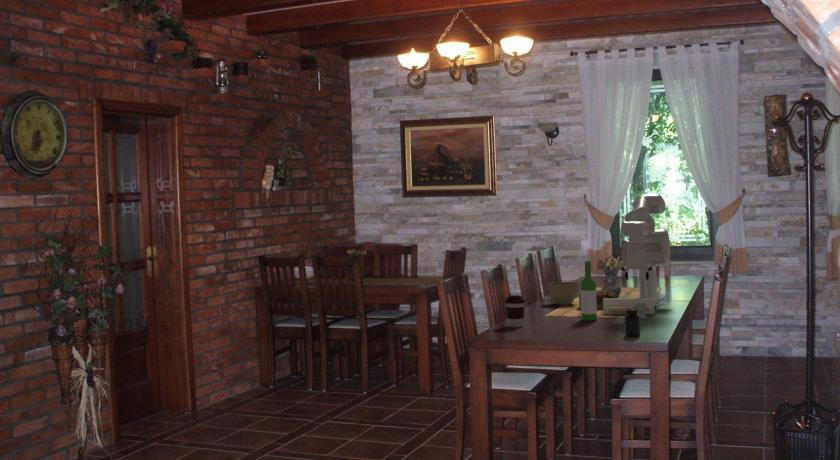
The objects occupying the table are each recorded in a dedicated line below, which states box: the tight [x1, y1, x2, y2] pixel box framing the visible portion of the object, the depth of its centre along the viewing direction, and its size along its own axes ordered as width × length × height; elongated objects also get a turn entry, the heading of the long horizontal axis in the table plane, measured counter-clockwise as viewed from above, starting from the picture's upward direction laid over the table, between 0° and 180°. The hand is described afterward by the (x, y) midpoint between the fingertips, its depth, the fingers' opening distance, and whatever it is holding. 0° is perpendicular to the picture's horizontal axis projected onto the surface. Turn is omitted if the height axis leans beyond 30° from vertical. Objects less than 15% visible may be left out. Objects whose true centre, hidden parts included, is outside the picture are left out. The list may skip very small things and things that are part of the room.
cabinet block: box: [636, 301, 647, 320], centre depth 427 cm, size 7×5×8 cm
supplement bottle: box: [623, 309, 641, 338], centre depth 377 cm, size 7×7×12 cm
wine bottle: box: [580, 260, 598, 322], centre depth 424 cm, size 8×8×30 cm
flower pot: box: [547, 281, 580, 306], centre depth 486 cm, size 18×18×12 cm
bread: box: [578, 289, 614, 310], centre depth 467 cm, size 19×11×10 cm, turn 77°
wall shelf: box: [602, 298, 656, 315], centre depth 441 cm, size 11×26×8 cm, turn 76°
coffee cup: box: [504, 294, 526, 328], centre depth 414 cm, size 10×10×15 cm
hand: (636, 280), depth 428 cm, fingers open, 9 cm apart
